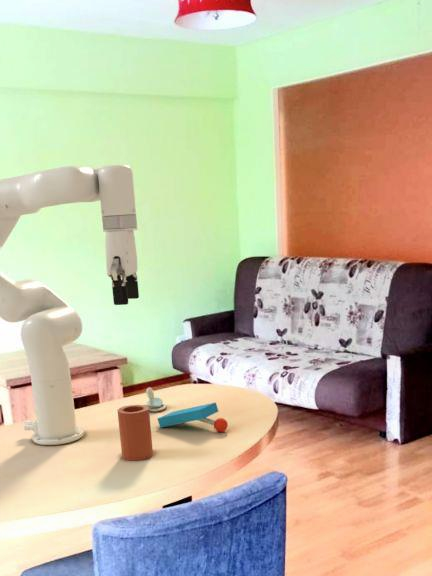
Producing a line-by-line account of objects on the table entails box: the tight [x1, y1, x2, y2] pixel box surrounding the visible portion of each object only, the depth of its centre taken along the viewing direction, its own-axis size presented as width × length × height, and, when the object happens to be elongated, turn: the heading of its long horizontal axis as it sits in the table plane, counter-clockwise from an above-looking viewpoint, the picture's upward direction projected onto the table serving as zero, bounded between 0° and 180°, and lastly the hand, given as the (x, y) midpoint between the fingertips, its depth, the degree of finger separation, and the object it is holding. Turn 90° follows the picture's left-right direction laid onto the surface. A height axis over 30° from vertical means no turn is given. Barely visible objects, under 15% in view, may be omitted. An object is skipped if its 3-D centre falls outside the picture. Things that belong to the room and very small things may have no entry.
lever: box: [157, 402, 229, 433], centre depth 185 cm, size 7×7×18 cm
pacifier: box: [144, 386, 167, 412], centre depth 203 cm, size 7×6×6 cm
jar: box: [117, 404, 154, 461], centre depth 167 cm, size 7×7×11 cm
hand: (126, 301), depth 167 cm, fingers open, 9 cm apart
